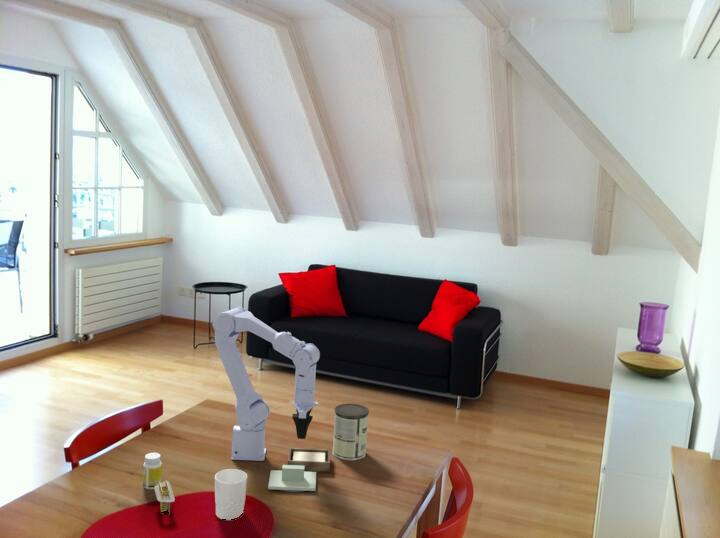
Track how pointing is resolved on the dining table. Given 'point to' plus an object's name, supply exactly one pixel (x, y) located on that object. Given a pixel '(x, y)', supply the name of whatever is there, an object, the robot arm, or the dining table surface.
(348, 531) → the dining table surface
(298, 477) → the lid
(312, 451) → the box
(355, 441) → the coffee can
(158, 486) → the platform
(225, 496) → the white cup
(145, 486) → the supplement bottle
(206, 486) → the dining table surface
